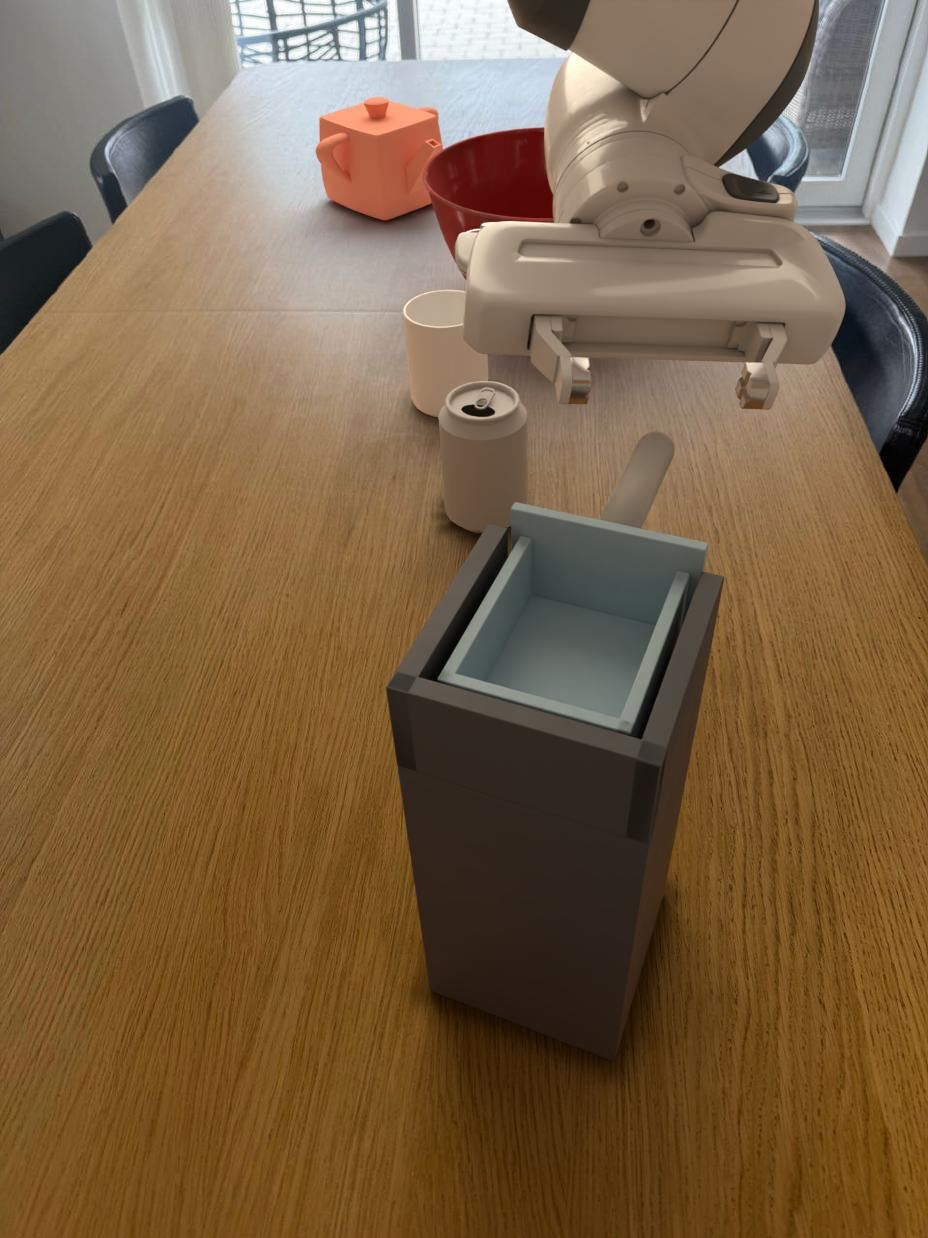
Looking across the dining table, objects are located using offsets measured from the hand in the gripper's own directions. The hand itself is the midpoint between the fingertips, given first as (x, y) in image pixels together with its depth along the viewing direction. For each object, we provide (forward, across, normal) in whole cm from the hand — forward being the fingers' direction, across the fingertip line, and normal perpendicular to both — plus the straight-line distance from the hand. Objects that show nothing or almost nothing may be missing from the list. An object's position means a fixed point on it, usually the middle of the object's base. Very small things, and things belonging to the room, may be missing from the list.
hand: (668, 397), depth 48 cm
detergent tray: (+9, -3, +6) cm, 11 cm away
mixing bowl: (-64, +5, +42) cm, 77 cm away
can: (-22, -5, +34) cm, 41 cm away
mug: (-43, -7, +39) cm, 59 cm away
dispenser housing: (+19, -4, +25) cm, 32 cm away
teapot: (-96, -14, +51) cm, 109 cm away
